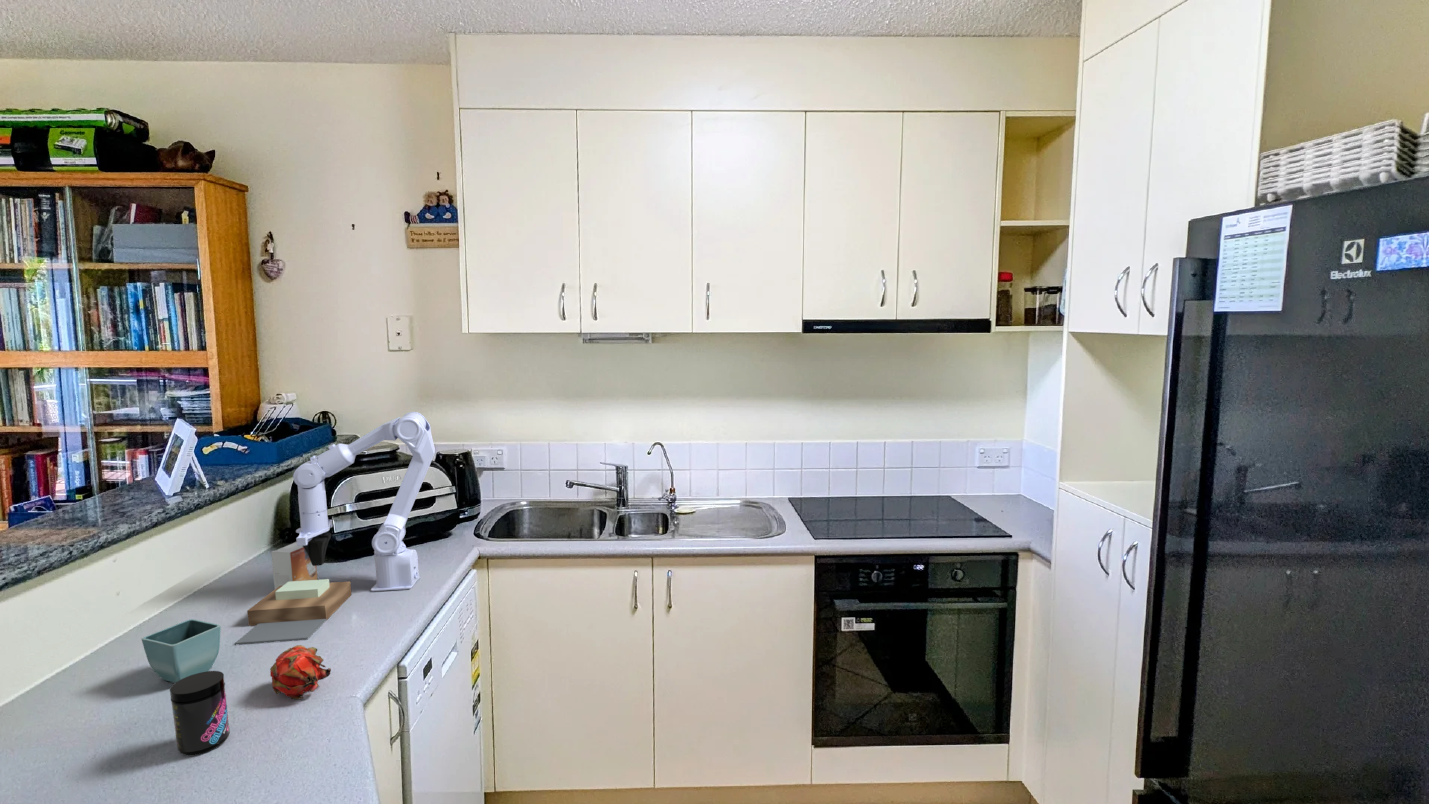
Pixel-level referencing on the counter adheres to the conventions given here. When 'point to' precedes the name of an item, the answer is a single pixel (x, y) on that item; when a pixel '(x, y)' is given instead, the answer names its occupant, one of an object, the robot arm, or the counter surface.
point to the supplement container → (200, 712)
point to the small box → (292, 565)
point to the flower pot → (183, 649)
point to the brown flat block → (299, 606)
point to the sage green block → (302, 589)
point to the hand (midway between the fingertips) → (318, 564)
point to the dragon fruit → (297, 671)
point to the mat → (281, 631)
